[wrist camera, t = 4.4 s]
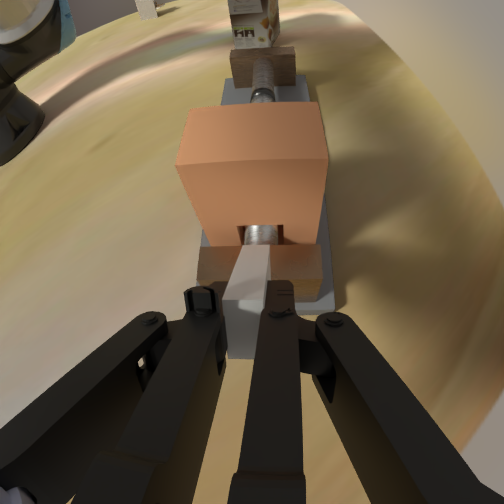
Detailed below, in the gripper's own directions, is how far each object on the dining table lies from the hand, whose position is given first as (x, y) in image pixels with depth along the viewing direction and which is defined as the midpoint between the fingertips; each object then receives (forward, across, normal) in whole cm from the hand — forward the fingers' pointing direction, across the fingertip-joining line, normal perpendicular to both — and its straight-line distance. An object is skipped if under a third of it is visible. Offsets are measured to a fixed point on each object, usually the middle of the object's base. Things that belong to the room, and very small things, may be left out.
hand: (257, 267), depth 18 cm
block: (+9, 0, 0) cm, 9 cm away
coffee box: (+40, -1, +28) cm, 49 cm away
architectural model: (+61, -31, +48) cm, 83 cm away
